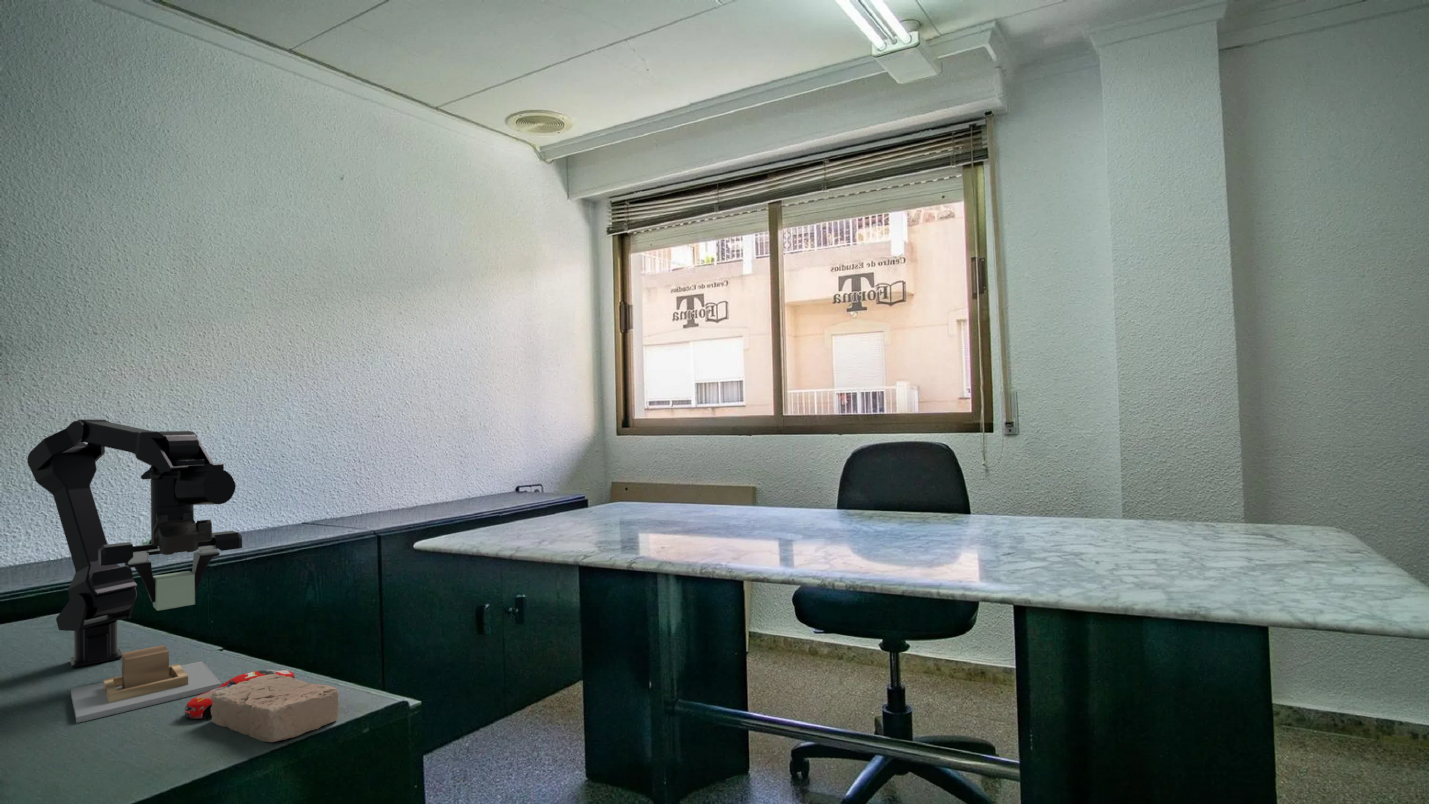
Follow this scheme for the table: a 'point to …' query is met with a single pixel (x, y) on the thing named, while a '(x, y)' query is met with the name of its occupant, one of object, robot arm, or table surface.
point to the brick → (274, 707)
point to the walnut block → (145, 666)
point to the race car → (203, 702)
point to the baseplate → (141, 692)
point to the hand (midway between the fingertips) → (173, 598)
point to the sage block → (174, 590)
